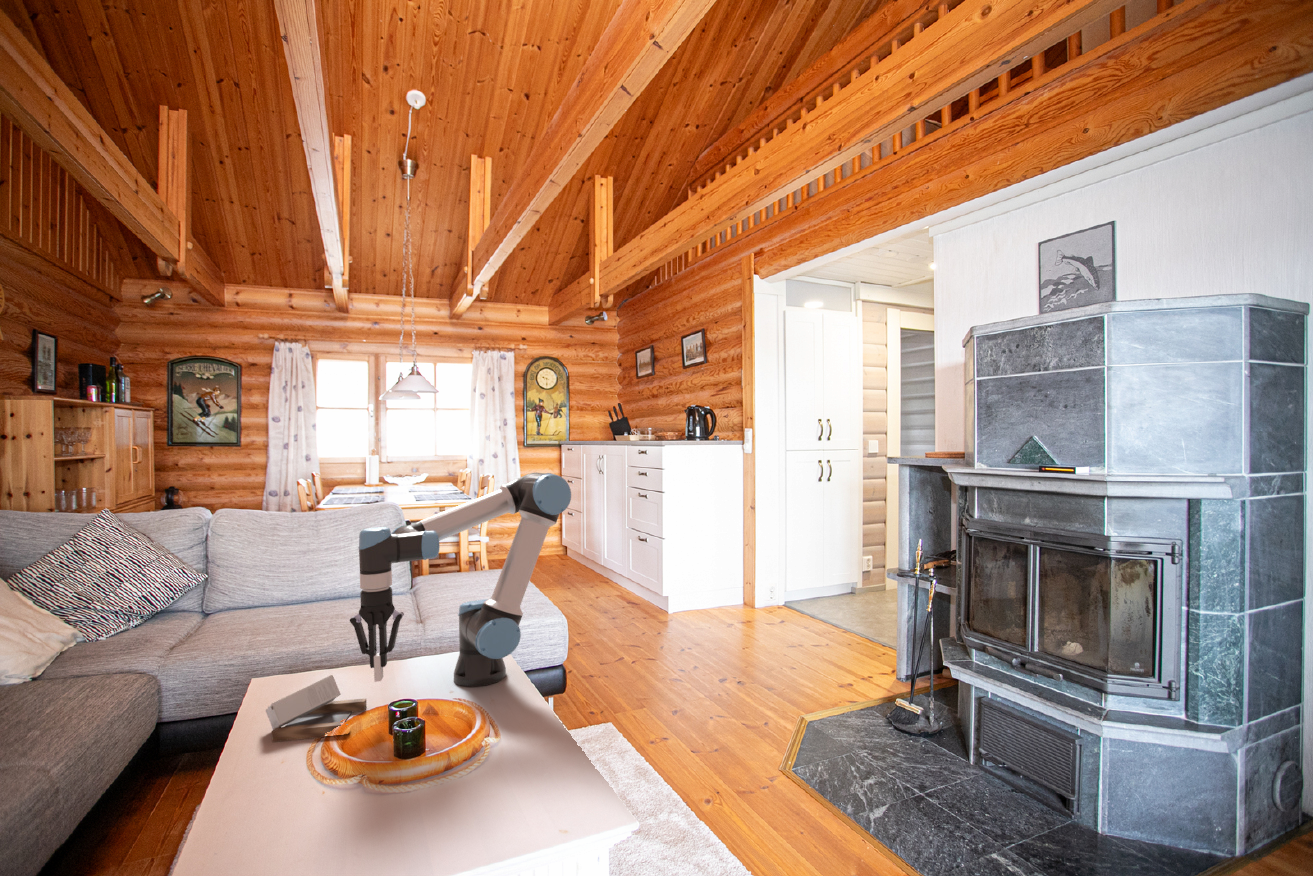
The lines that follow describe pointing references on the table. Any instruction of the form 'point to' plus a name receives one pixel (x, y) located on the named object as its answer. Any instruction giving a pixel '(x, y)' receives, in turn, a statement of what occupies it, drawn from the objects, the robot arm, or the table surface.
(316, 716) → the u rest
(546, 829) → the table surface
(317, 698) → the skincare box
